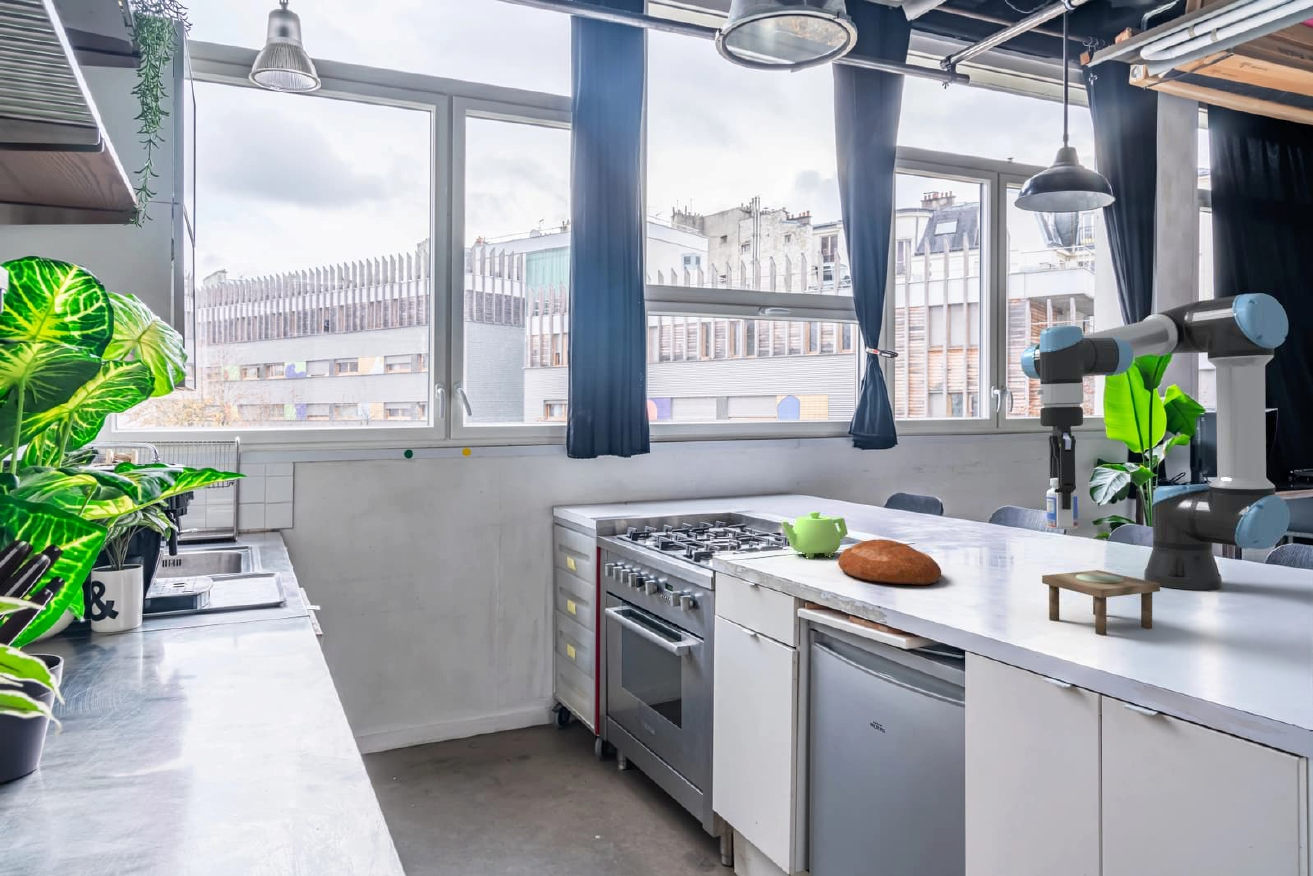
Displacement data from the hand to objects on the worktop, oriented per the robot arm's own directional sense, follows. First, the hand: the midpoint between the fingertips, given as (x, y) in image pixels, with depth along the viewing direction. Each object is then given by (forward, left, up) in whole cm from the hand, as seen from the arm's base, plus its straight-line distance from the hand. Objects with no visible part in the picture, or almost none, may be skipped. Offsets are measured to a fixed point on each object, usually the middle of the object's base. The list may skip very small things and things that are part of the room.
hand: (1062, 523), depth 161 cm
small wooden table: (-4, +6, -19) cm, 20 cm away
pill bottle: (0, 0, -1) cm, 1 cm away
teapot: (+23, -79, -19) cm, 85 cm away
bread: (+15, -47, -19) cm, 53 cm away
